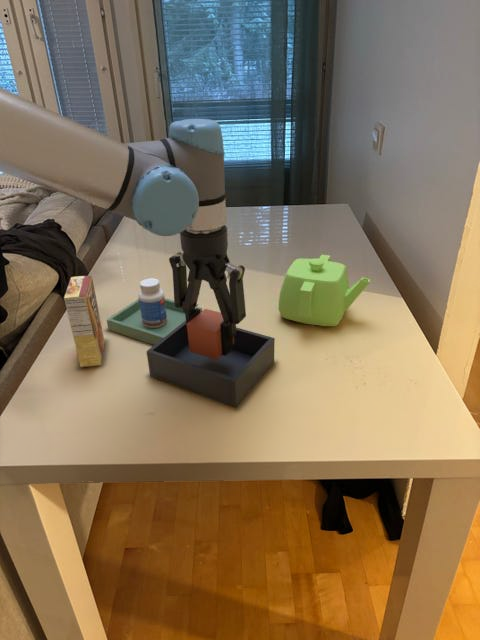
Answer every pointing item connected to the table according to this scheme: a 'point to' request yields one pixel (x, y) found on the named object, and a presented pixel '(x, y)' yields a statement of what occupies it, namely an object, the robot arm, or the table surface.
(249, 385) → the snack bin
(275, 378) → the table surface
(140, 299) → the pill bottle
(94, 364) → the candy box
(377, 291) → the table surface
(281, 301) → the teapot
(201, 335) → the block
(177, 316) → the medicine tray
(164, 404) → the table surface
